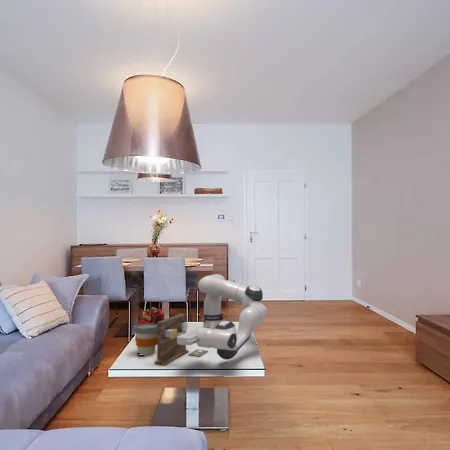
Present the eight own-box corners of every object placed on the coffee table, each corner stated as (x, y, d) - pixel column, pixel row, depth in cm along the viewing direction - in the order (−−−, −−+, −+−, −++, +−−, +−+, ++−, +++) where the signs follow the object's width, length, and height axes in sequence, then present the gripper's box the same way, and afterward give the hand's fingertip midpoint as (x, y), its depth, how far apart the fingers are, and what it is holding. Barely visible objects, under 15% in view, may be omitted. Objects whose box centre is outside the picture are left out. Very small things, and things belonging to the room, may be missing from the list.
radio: (138, 340, 224) (138, 308, 224) (152, 337, 230) (152, 306, 231) (150, 346, 212) (150, 311, 212) (165, 343, 218) (165, 309, 219)
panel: (188, 352, 200) (188, 314, 201) (164, 365, 179) (164, 323, 180) (179, 351, 203) (179, 313, 203) (154, 364, 182) (154, 321, 182)
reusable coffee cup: (143, 348, 207) (143, 322, 207) (162, 351, 202) (162, 324, 203) (129, 355, 195) (130, 327, 196) (149, 358, 191) (149, 329, 191)
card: (208, 351, 201) (208, 350, 201) (199, 357, 192) (199, 355, 192) (196, 350, 204) (196, 348, 204) (188, 355, 195) (188, 353, 195)
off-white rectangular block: (187, 329, 199) (187, 322, 199) (183, 331, 195) (183, 323, 195) (175, 328, 202) (175, 321, 202) (171, 329, 198) (171, 322, 198)
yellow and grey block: (177, 336, 184) (177, 329, 184) (172, 338, 180) (172, 330, 180) (164, 335, 187) (164, 327, 187) (160, 337, 183) (160, 329, 183)
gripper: (192, 350, 166) (167, 346, 171) (212, 338, 184) (189, 335, 190) (192, 336, 166) (167, 332, 172) (212, 326, 185) (189, 323, 190)
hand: (178, 334), depth 181 cm, fingers closed
